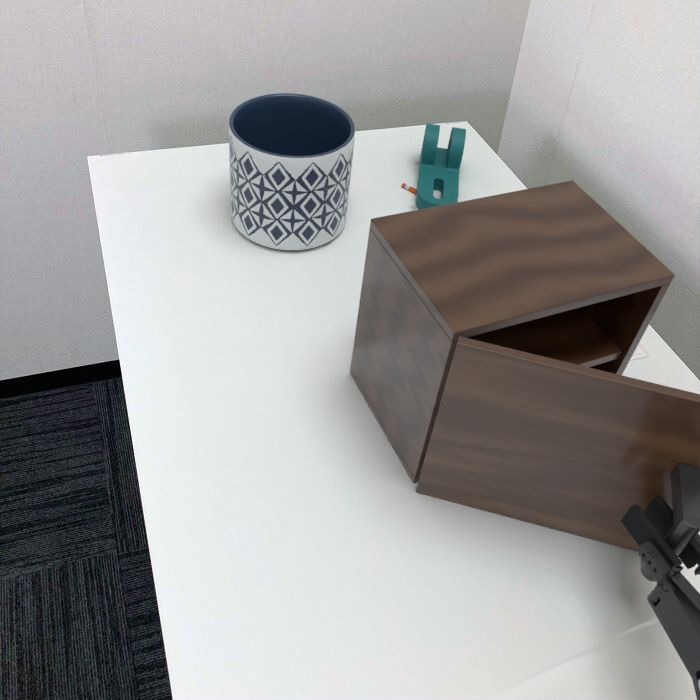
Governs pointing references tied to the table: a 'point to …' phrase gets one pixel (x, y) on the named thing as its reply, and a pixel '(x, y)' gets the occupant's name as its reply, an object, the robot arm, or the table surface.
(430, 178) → the bracket
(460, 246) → the cupboard
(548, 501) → the door
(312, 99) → the planter
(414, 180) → the table surface
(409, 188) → the pencil
